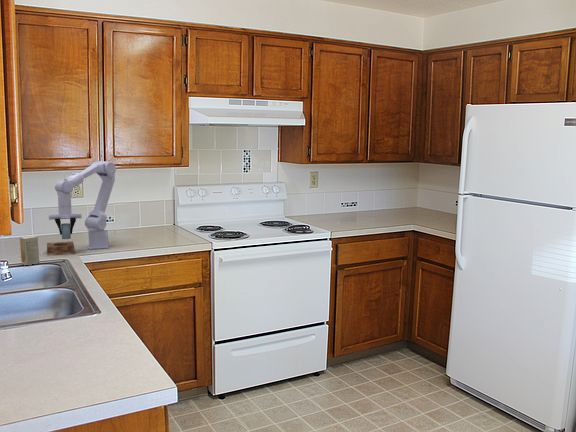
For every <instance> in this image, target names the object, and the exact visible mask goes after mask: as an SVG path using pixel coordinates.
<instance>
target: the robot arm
mask: <svg viewBox="0 0 576 432" xmlns="http://www.w3.org/2000/svg"><path fill="white" fill-rule="evenodd" d="M116 167H117V166H116V165H115V163H114V162H113V161H110V160H108V161H107V160H105V161H104V160H96V161H95V162H92V164H91V165H89V166H88V167H87V168H85V169H83V170H82V171H81V172H74V171H73V172H72V173H71V175H69V176H67V177H64V179H63V180H61V179H60V180H58V181H57V182H56V183H55V186H54V189H55V191H56V195H57V204H58V205H57V206H58V207H57V208H58V214H51V215H50V214H49V215H48V220H49V221H51V220H54V222H55V224H56V226H57V228H58V231H59V235H61V236H62V232H61V224H62V222H61V220H69V224H70V233H71V235H72V234H73V229H74V226H75V224H76V221H77V219H82V218H83V217H82V213H72V192H73V190H74V189H75V188H76V187H78V186H79V185H81V184H84V183H83V182H84V180H85V179H87V178H88V177H91V176H92V175H93V174H97V175H98V177H99V178H100V179H101V180H102V182H101V185H100V188H99V191H98V194H97V195H98V196H97V198H96V200H95V203H94V208H93V209H92V211H90V212H89V213H88V216H87V217H86V218H85V219H84V220H85V221H84V226H85V227H86V228H87V230H88V231H87V232H88V233H87V234H88V245H87V248H88V250H95V249H108V248H109V243H110V242H109V231H108V229H105V228H106V227H107V219H108V216H107V215H106V213H105V212H106V209H107V206H108V202H109V200H110V198H111V197H110V196H111V193H112V190H113V187H114V183H115V180H116V179H115V176H116V175H115V174H116V170H117V168H116Z"/></svg>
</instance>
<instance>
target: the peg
mask: <svg viewBox="0 0 576 432" xmlns="http://www.w3.org/2000/svg"><path fill="white" fill-rule="evenodd" d="M61 232H62V235H61V240H70V239H71V238H72V237H71V236H72V234H71V233H70V222H69V223H68V222H67V223H61Z"/></svg>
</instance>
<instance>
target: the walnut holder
mask: <svg viewBox="0 0 576 432" xmlns="http://www.w3.org/2000/svg"><path fill="white" fill-rule="evenodd" d="M46 253H47V256H58V255H59V256H60V255H61V256H62V255H73V254H75V253H76V252H75V244H74V241H61V242H60V241H57V242H46Z"/></svg>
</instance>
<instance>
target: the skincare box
mask: <svg viewBox="0 0 576 432" xmlns="http://www.w3.org/2000/svg"><path fill="white" fill-rule="evenodd" d="M19 245H20V259H21V260H20V261H21V265H22V264H24V265H23V266H25V265H29V266H33V265H32V264H34V265H38V263H39V264H40V252H39V250H40V249H39V238H38V236H36V235H28V236H23V237H19Z"/></svg>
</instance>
